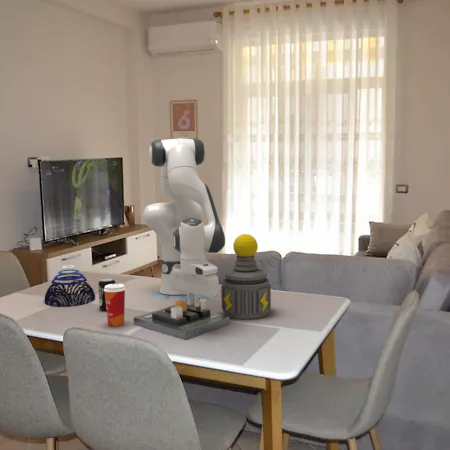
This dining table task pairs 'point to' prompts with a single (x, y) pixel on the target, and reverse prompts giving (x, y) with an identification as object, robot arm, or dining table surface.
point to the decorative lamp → (245, 283)
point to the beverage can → (102, 284)
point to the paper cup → (115, 304)
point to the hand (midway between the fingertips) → (194, 305)
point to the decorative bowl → (73, 283)
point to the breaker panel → (182, 331)
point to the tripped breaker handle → (182, 304)
